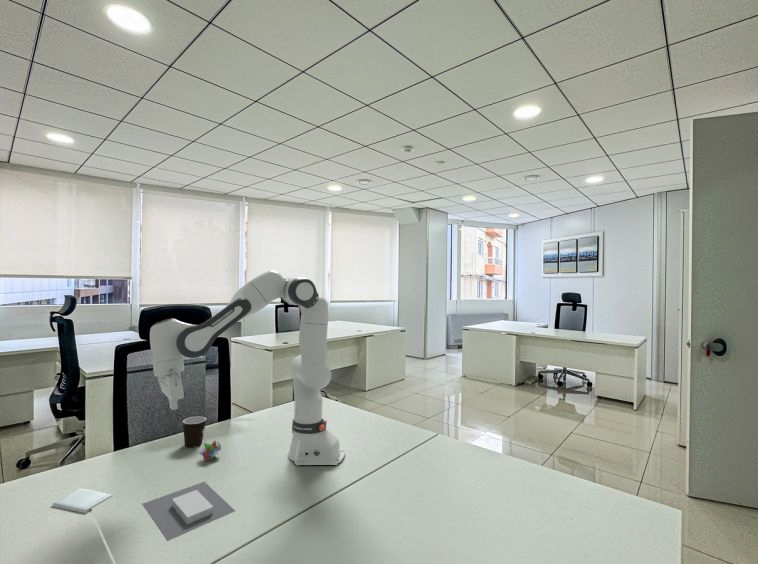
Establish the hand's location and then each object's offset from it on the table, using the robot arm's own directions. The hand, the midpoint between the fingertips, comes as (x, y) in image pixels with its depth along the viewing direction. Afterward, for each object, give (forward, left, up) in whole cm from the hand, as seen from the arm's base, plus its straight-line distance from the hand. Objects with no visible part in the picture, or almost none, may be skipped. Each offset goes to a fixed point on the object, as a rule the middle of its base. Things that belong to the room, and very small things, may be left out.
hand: (174, 408), depth 120 cm
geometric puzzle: (-3, -17, -25) cm, 30 cm away
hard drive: (+17, +14, -25) cm, 34 cm away
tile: (-12, +9, -23) cm, 27 cm away
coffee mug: (+11, -29, -25) cm, 40 cm away
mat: (-15, +12, -25) cm, 31 cm away
